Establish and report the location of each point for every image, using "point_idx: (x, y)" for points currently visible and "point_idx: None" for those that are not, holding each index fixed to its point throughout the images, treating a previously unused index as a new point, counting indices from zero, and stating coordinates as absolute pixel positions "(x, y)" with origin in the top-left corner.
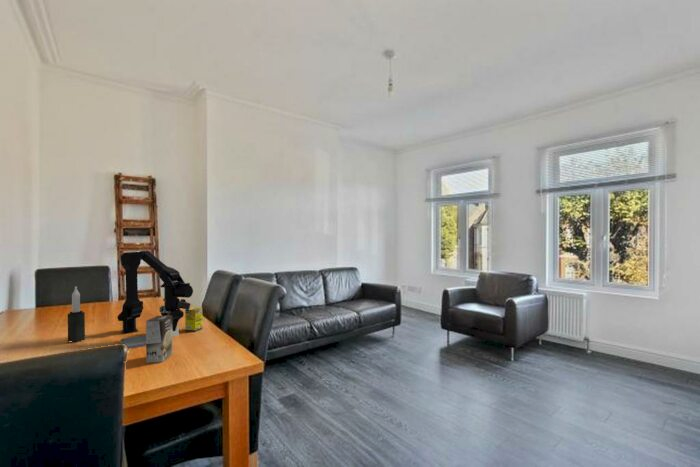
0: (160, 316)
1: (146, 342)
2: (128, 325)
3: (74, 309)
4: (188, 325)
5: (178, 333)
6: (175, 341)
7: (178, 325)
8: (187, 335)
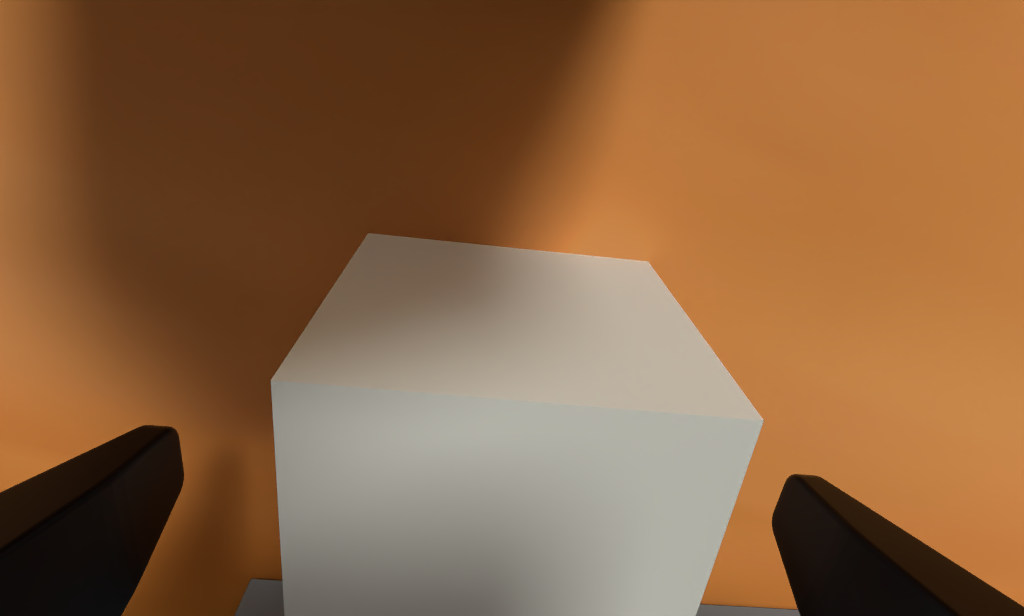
0: None
1: None
2: None
3: None
4: None
5: (660, 285)
6: (1010, 466)
7: (753, 416)
8: (870, 102)
